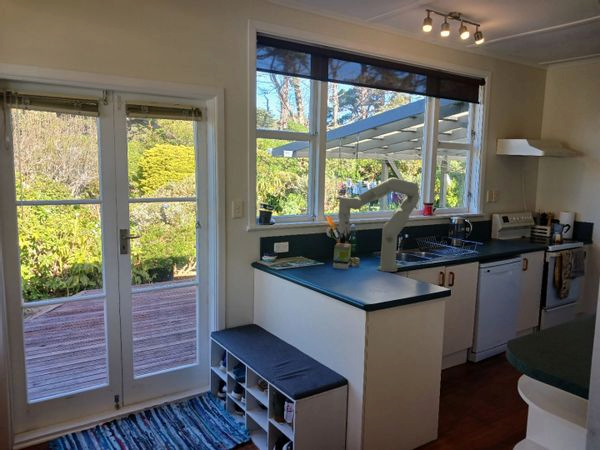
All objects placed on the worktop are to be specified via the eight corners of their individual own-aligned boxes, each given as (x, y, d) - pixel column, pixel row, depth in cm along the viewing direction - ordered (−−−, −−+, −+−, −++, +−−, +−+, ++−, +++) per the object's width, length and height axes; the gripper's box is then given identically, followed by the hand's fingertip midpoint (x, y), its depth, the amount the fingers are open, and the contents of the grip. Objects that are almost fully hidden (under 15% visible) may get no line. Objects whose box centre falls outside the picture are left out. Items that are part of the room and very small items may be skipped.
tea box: (348, 269, 292) (349, 247, 291) (332, 268, 294) (333, 245, 293) (350, 264, 307) (351, 243, 305) (335, 263, 309) (336, 242, 307)
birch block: (356, 264, 309) (356, 257, 308) (359, 266, 304) (359, 258, 303) (349, 264, 308) (350, 257, 307) (352, 266, 303) (352, 258, 302)
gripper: (353, 217, 290) (351, 245, 292) (346, 214, 305) (344, 241, 307) (342, 217, 288) (340, 245, 291) (335, 214, 303) (333, 241, 305)
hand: (342, 243), depth 299 cm, fingers closed
